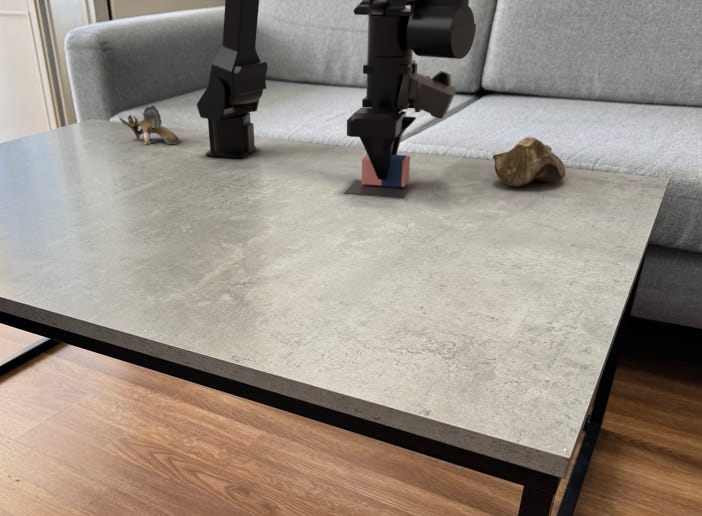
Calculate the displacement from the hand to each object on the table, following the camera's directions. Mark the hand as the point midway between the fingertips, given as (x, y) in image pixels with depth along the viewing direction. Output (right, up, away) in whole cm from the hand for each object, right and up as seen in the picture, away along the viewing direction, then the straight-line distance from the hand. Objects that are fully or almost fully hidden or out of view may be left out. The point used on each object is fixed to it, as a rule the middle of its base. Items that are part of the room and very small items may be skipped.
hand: (384, 175), depth 97 cm
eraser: (0, -1, 0) cm, 1 cm away
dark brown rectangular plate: (-1, -2, -1) cm, 2 cm away
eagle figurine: (-37, +13, +28) cm, 48 cm away
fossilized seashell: (+20, -1, 0) cm, 20 cm away
